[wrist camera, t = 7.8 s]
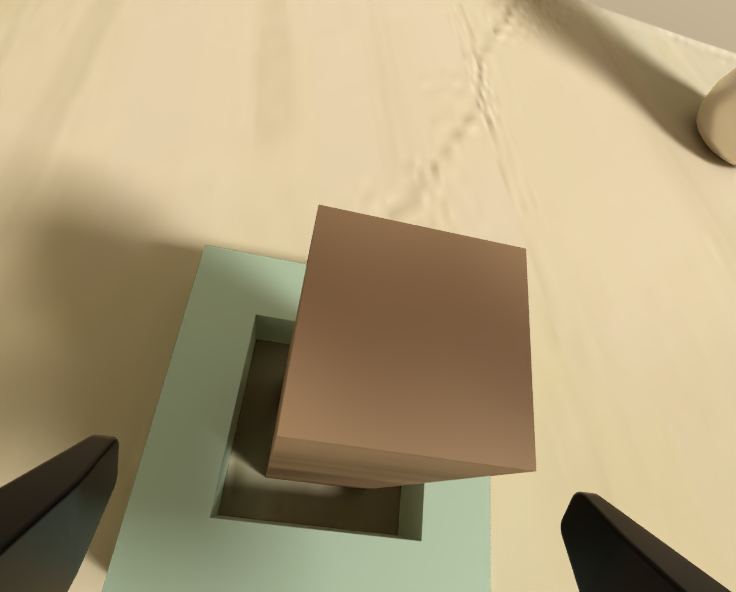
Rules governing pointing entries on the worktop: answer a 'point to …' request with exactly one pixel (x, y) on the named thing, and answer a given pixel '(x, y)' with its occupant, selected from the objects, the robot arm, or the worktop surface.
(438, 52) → the worktop surface
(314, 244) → the brown square peg
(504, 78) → the worktop surface
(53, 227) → the worktop surface
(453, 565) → the green square hole base
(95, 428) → the worktop surface
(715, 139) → the plastic bottle
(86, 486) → the robot arm
